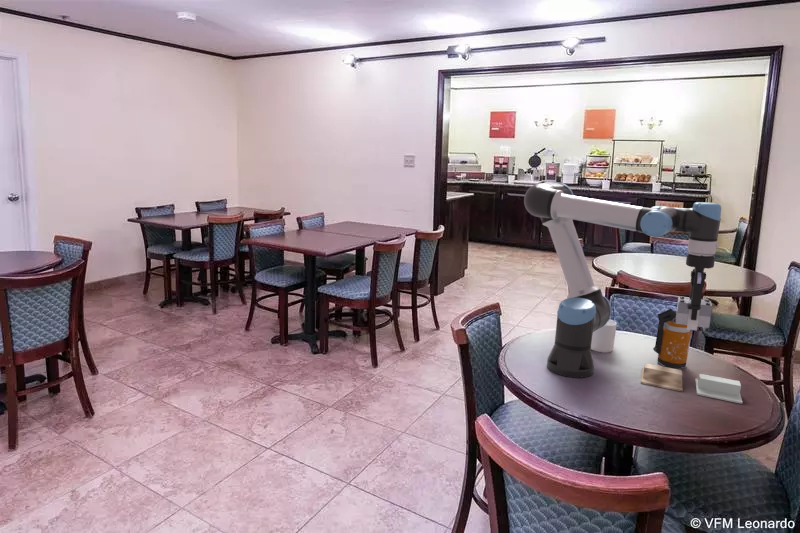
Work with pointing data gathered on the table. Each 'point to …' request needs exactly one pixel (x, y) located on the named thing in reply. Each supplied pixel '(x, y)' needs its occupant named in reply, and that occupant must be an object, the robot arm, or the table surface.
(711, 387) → the stand
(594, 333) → the mug
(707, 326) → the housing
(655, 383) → the stand
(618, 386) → the table surface
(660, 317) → the canister
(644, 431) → the table surface
